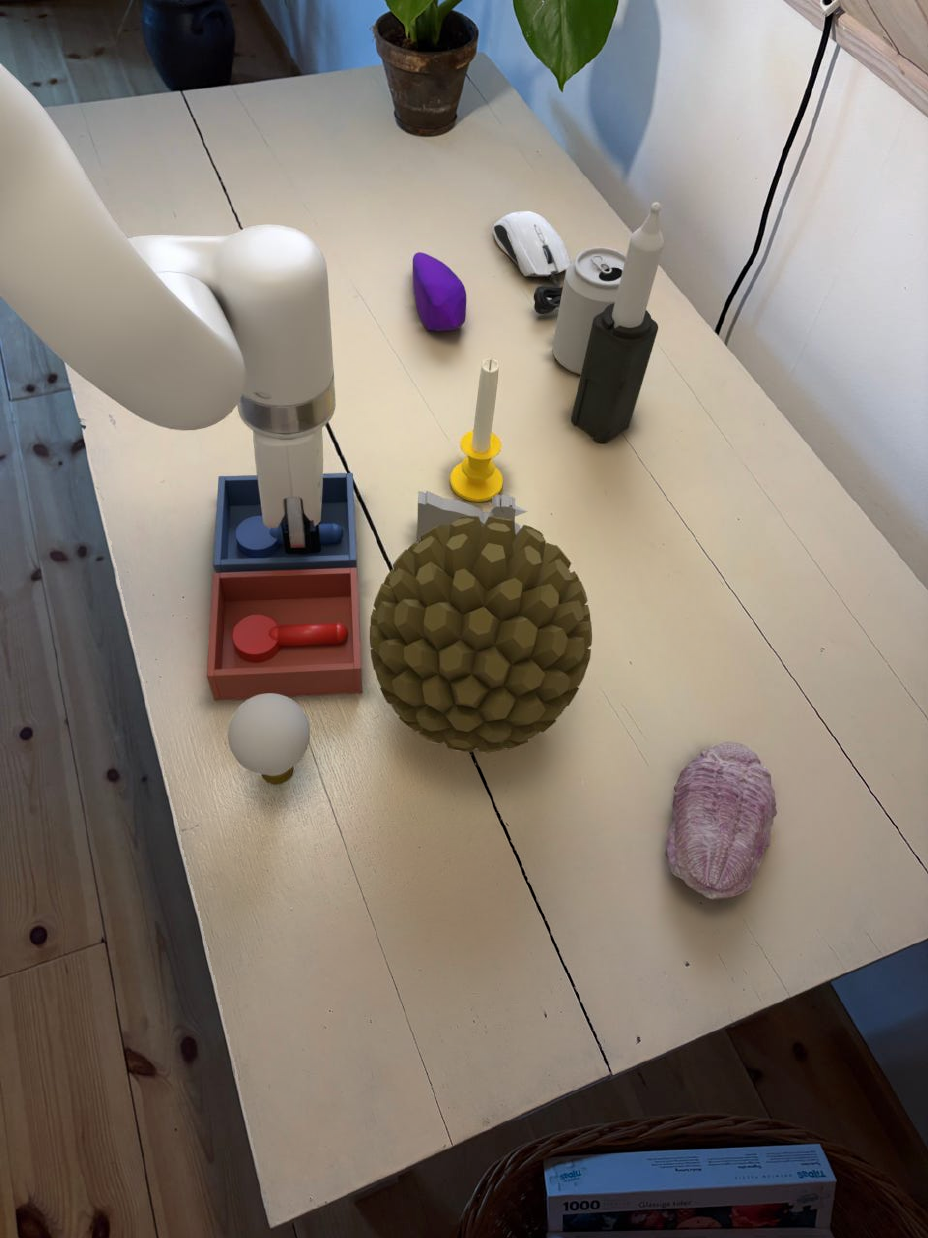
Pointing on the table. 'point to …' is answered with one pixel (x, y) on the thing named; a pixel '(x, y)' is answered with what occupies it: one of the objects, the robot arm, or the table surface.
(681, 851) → the fossil
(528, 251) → the computer mouse
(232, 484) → the blue bin
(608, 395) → the candle
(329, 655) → the red bin
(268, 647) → the red ping pong paddle
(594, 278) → the can
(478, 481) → the candle
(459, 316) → the crystal
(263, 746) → the light bulb
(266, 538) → the blue spoon
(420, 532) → the grey flat angular piece
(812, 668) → the table surface
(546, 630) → the decorative object
